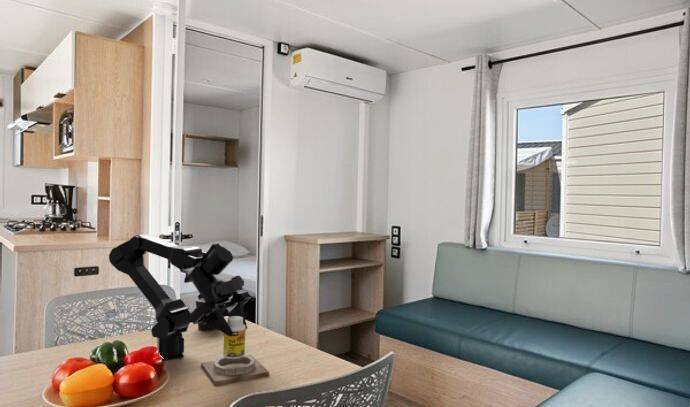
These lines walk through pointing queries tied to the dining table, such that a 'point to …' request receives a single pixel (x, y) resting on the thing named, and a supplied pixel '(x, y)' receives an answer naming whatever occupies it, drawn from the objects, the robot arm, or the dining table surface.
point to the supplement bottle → (235, 339)
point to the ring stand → (233, 369)
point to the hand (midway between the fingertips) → (238, 332)
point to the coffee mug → (200, 325)
